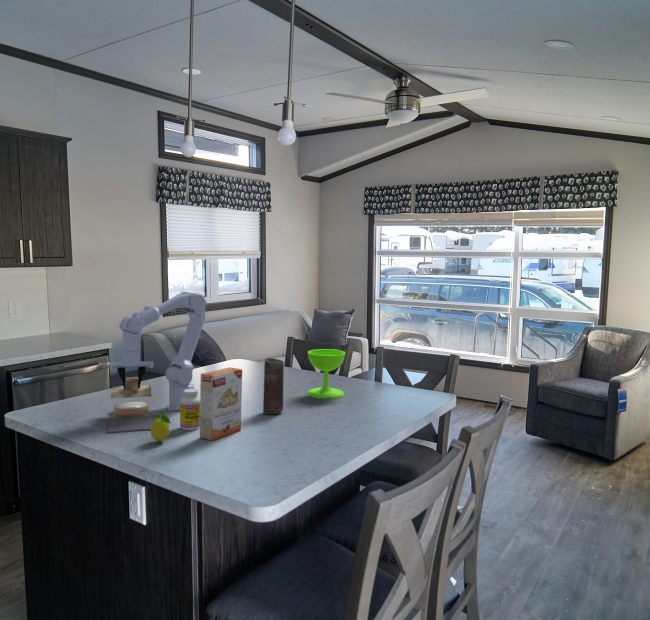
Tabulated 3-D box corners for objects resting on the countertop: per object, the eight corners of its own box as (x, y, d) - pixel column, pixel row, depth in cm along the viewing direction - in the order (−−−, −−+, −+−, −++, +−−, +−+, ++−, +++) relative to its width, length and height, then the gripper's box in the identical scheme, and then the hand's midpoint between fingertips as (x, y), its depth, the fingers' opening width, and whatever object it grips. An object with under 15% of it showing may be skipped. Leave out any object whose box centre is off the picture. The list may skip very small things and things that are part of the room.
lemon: (170, 445, 167) (170, 412, 166) (150, 446, 166) (150, 414, 165) (170, 437, 174) (170, 407, 173) (150, 439, 172) (150, 408, 171)
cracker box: (213, 441, 171) (213, 375, 169) (198, 438, 174) (199, 373, 172) (242, 430, 183) (243, 368, 181) (228, 427, 186) (229, 366, 184)
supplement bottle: (182, 432, 180) (182, 393, 178) (178, 426, 186) (178, 389, 184) (202, 429, 183) (203, 391, 182) (197, 424, 189) (197, 387, 187)
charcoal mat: (157, 415, 197) (157, 414, 197) (159, 429, 182) (159, 427, 182) (109, 419, 192) (109, 417, 192) (107, 433, 177) (107, 431, 177)
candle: (272, 408, 210) (273, 357, 208) (287, 412, 205) (288, 359, 203) (259, 413, 203) (259, 359, 201) (274, 416, 199) (274, 362, 197)
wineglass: (351, 395, 232) (353, 353, 230) (320, 400, 223) (321, 357, 221) (330, 388, 245) (331, 348, 243) (299, 392, 236) (300, 350, 234)
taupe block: (151, 387, 202) (151, 375, 202) (151, 396, 190) (151, 383, 189) (113, 389, 198) (113, 376, 198) (111, 398, 186) (110, 385, 185)
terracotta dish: (148, 406, 208) (148, 400, 208) (148, 415, 197) (148, 408, 197) (114, 408, 204) (114, 402, 204) (113, 418, 193) (113, 410, 193)
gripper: (153, 347, 198) (153, 384, 200) (110, 348, 194) (110, 386, 195) (153, 351, 192) (153, 389, 193) (108, 352, 187) (109, 391, 188)
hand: (131, 388), depth 194 cm, fingers closed on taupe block, 4 cm apart
